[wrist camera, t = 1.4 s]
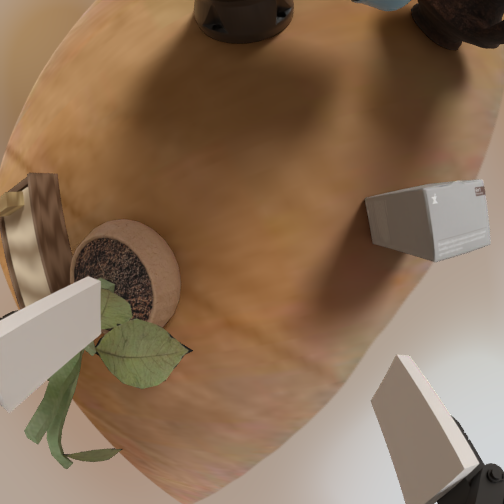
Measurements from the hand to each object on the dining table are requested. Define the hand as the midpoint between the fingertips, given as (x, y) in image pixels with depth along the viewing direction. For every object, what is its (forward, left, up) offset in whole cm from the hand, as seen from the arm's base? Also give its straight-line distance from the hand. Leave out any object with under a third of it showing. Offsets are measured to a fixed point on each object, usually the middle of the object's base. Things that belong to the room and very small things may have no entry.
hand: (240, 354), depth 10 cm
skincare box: (-1, +18, -26) cm, 32 cm away
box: (-9, -39, -26) cm, 47 cm away
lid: (-9, -39, -20) cm, 45 cm away
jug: (-32, +39, -26) cm, 57 cm away
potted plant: (+2, -18, -26) cm, 32 cm away
